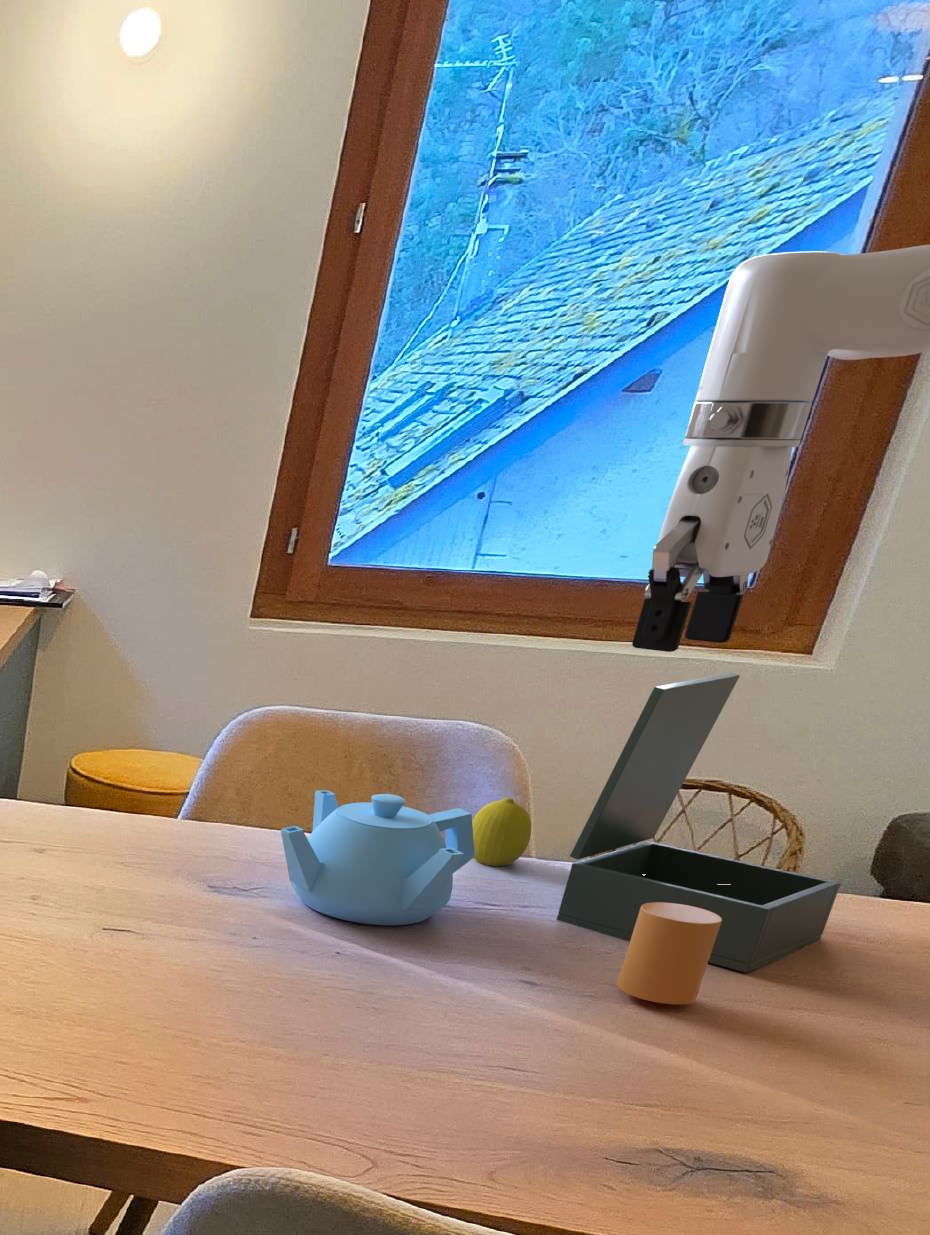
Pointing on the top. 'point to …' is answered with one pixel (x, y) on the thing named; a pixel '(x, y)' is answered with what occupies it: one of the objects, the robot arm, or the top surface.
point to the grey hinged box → (702, 899)
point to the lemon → (501, 832)
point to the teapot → (377, 859)
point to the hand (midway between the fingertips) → (680, 645)
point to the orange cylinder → (668, 952)
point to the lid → (654, 763)
